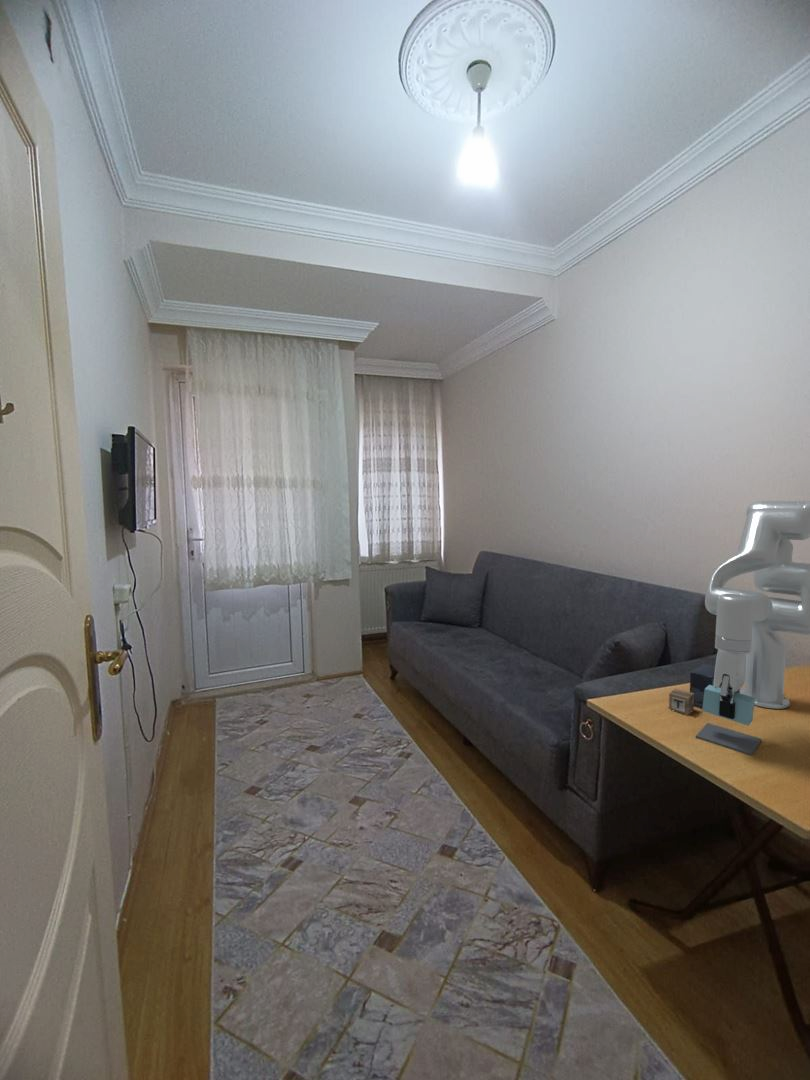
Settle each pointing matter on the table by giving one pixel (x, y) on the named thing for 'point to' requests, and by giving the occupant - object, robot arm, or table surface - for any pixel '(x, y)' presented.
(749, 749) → the dark gray block
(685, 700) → the wooden letter block
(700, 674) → the small box
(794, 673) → the table surface
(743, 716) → the teal rectangular block
